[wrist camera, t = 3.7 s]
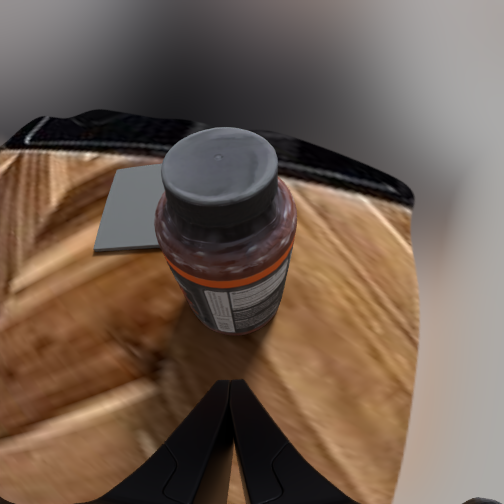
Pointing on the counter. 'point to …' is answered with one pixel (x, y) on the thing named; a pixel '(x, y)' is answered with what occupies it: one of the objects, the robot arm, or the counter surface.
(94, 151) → the counter surface
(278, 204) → the supplement bottle
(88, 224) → the counter surface
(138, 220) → the pad
